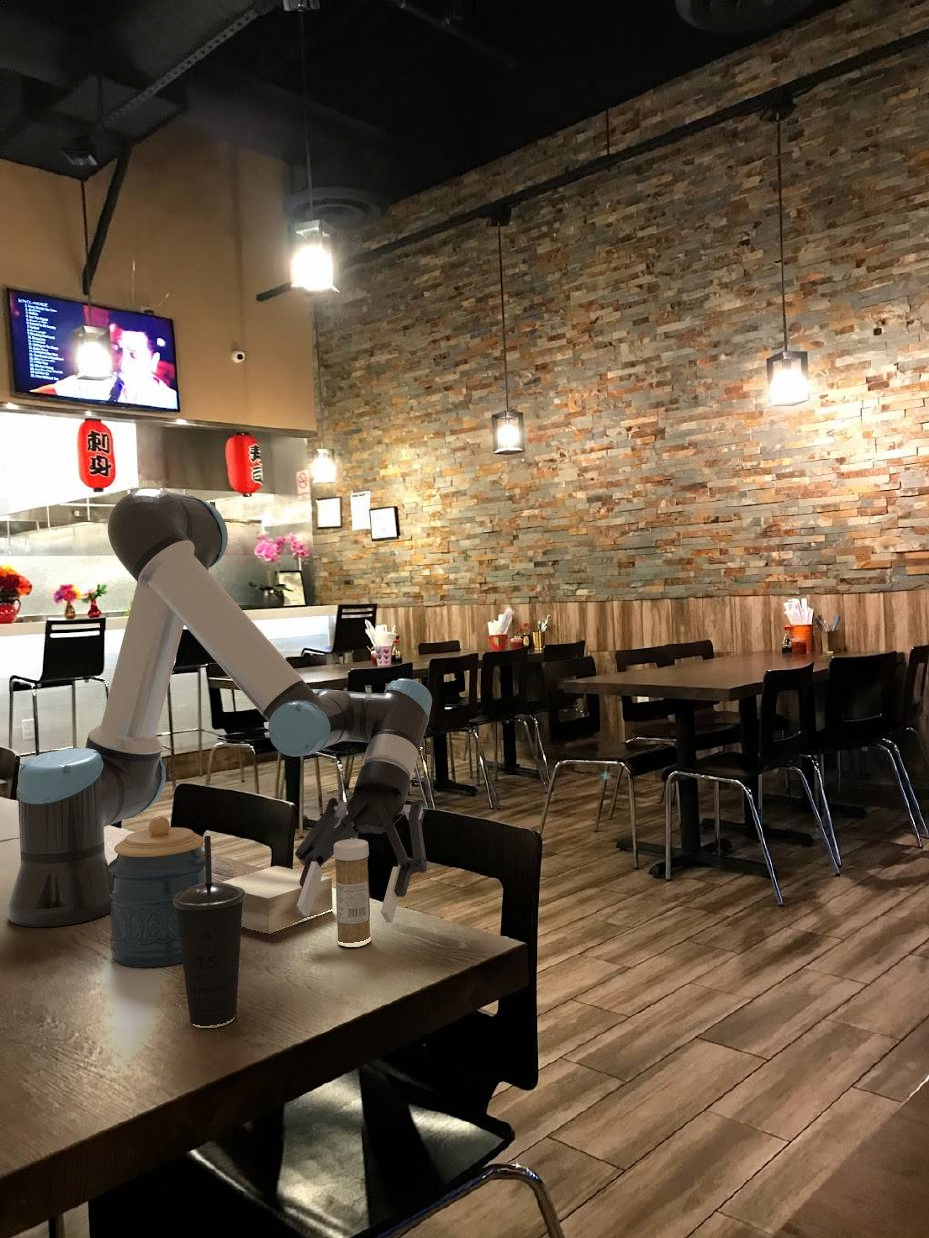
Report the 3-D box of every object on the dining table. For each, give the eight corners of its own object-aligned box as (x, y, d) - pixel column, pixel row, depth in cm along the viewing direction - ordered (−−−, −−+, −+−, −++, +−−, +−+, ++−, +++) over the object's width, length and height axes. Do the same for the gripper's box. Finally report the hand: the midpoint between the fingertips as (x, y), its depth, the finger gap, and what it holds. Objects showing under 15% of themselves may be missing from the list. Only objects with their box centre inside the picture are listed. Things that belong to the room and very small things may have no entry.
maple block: (269, 934, 134) (268, 898, 134) (213, 919, 142) (212, 884, 142) (332, 911, 144) (331, 877, 144) (276, 898, 151) (276, 865, 151)
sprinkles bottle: (371, 936, 133) (369, 837, 132) (370, 948, 128) (367, 845, 128) (337, 938, 132) (334, 838, 132) (335, 950, 128) (332, 846, 128)
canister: (235, 944, 131) (231, 812, 131) (154, 977, 120) (150, 832, 120) (170, 928, 138) (166, 803, 138) (89, 957, 128) (84, 821, 127)
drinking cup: (173, 1012, 110) (168, 832, 109) (243, 1000, 112) (238, 825, 112) (179, 1040, 102) (173, 848, 102) (253, 1027, 105) (248, 840, 105)
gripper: (470, 791, 141) (437, 935, 127) (320, 785, 148) (273, 921, 134) (457, 760, 136) (421, 906, 121) (303, 756, 143) (252, 893, 129)
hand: (344, 914), depth 128 cm, fingers open, 11 cm apart
